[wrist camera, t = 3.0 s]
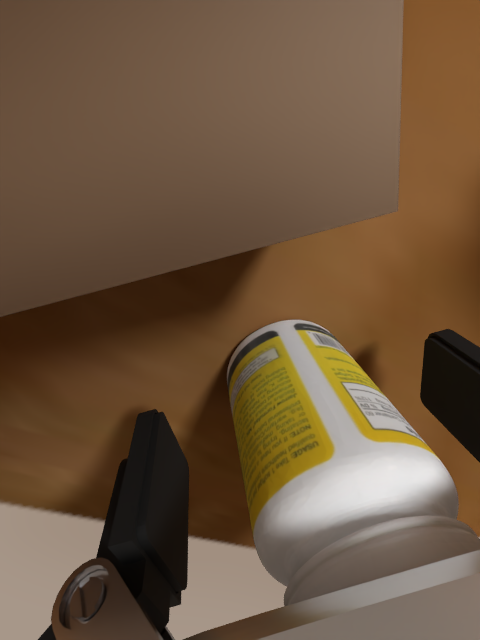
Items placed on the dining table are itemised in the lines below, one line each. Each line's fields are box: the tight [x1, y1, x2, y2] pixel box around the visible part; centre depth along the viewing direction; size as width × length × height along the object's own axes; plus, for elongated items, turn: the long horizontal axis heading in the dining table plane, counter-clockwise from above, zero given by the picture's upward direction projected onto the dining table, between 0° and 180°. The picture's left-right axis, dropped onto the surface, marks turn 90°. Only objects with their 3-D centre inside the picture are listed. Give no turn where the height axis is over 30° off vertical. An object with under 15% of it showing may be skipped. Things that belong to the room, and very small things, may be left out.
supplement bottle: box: [227, 320, 480, 606], centre depth 8 cm, size 5×5×8 cm
